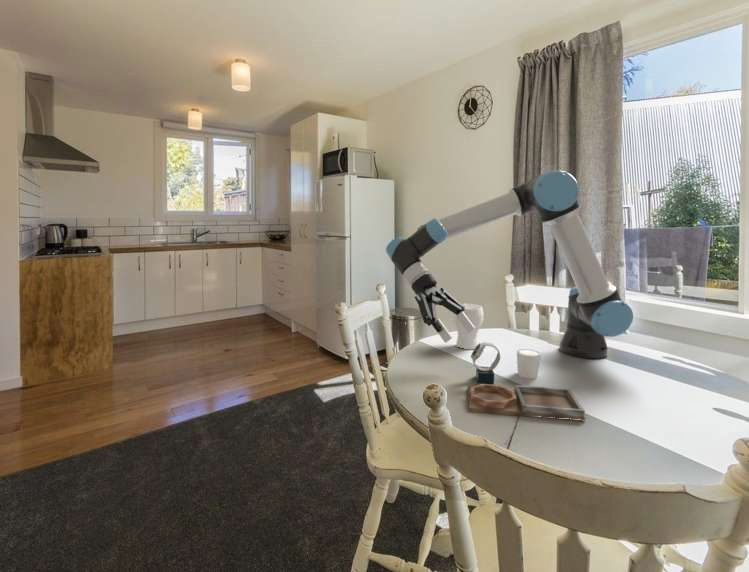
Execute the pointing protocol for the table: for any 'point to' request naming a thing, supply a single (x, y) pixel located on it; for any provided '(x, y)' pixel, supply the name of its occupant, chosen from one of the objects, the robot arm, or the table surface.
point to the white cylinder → (528, 363)
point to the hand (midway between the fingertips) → (461, 335)
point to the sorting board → (524, 401)
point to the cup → (476, 319)
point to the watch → (484, 373)
